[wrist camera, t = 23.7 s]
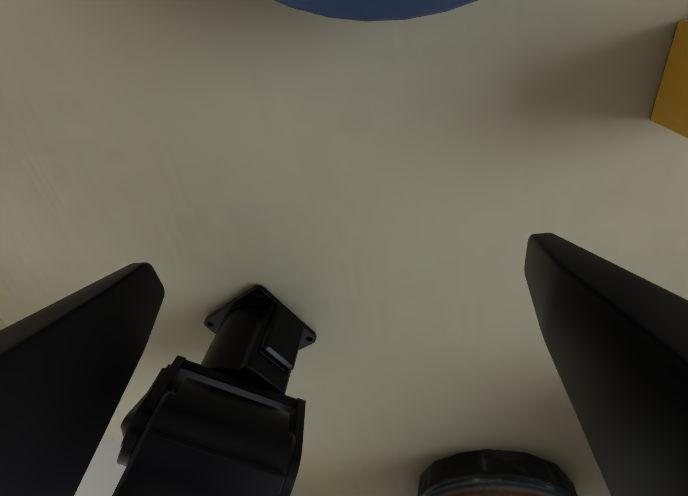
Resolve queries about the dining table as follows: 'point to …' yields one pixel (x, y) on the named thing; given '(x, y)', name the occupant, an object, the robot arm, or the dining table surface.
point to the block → (674, 86)
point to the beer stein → (494, 476)
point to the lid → (375, 8)
